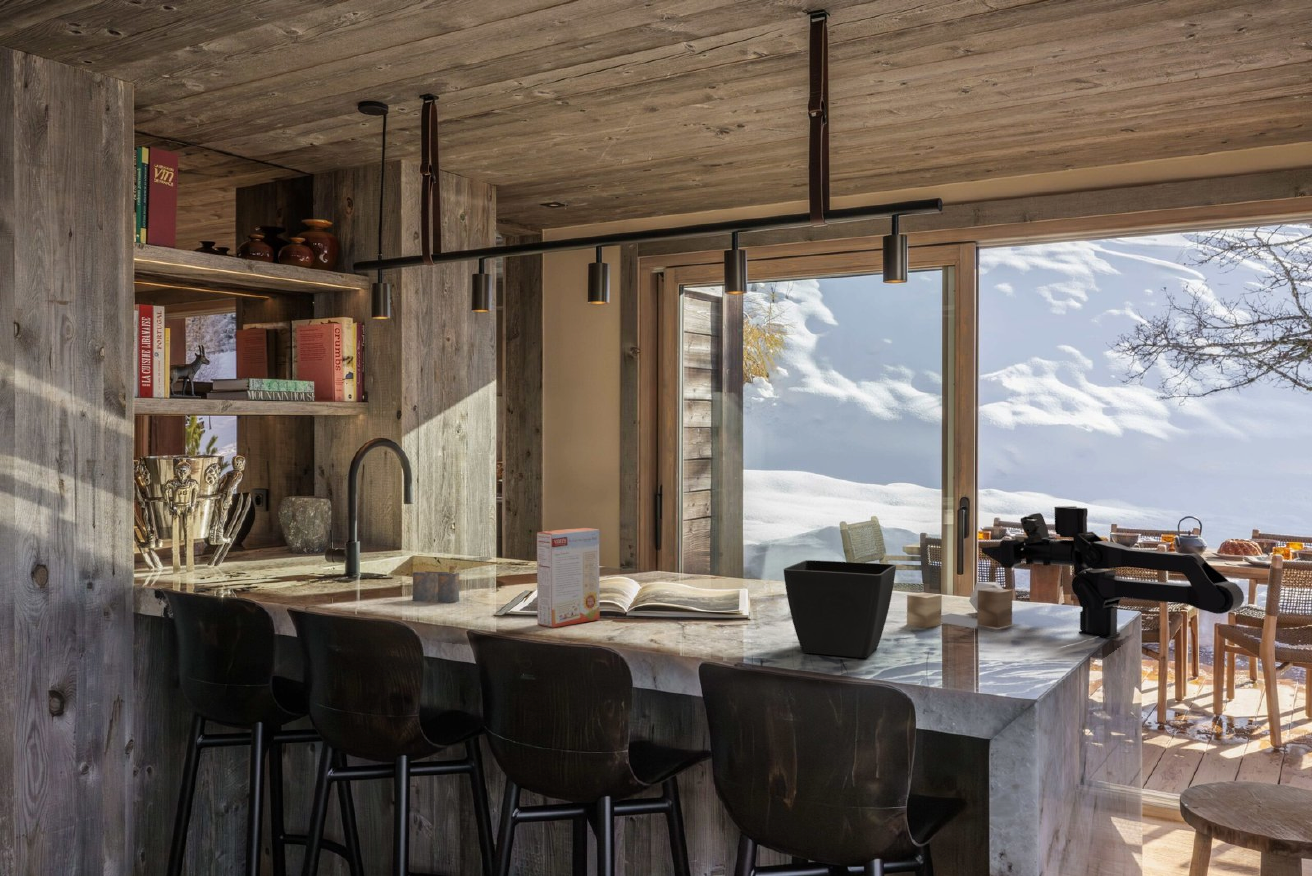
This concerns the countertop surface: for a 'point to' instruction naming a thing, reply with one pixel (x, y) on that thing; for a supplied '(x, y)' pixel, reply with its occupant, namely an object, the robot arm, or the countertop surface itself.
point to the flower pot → (839, 605)
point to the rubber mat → (966, 622)
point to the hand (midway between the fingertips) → (992, 548)
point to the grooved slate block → (436, 586)
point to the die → (980, 586)
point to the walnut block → (994, 608)
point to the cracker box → (567, 576)
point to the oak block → (924, 609)
